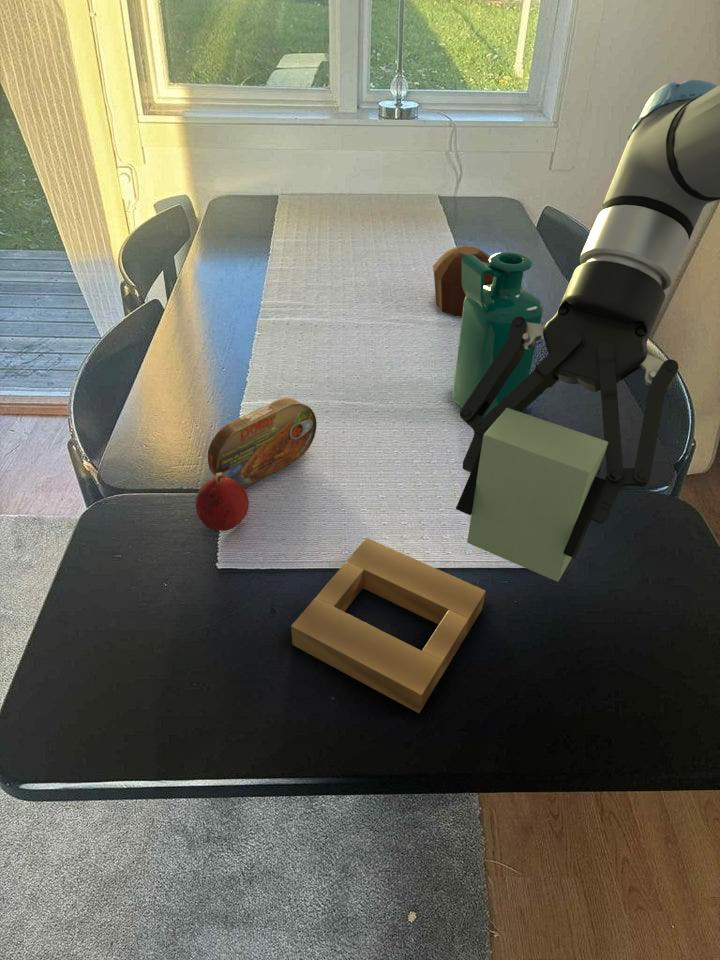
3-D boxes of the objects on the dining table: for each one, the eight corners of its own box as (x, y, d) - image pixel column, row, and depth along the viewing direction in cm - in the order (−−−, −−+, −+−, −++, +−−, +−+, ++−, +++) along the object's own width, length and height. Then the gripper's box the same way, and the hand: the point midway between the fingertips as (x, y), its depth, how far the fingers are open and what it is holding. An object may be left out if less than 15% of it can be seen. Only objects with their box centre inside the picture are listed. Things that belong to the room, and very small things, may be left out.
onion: (233, 552, 78) (225, 499, 72) (190, 536, 79) (179, 483, 74) (260, 519, 82) (255, 466, 76) (218, 504, 83) (210, 452, 78)
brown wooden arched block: (496, 322, 119) (505, 266, 113) (431, 320, 119) (437, 264, 113) (488, 291, 128) (496, 237, 122) (428, 289, 128) (433, 235, 122)
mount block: (365, 556, 78) (366, 537, 76) (482, 609, 72) (486, 590, 70) (292, 645, 68) (290, 625, 66) (419, 713, 63) (421, 695, 61)
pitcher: (497, 383, 105) (521, 239, 90) (528, 414, 99) (560, 265, 85) (439, 396, 102) (455, 249, 87) (467, 428, 96) (489, 277, 82)
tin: (222, 500, 84) (214, 445, 78) (208, 487, 86) (199, 432, 80) (319, 449, 92) (317, 395, 86) (303, 438, 94) (301, 385, 88)
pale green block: (488, 513, 65) (506, 407, 57) (576, 550, 62) (608, 441, 54) (466, 542, 62) (483, 434, 55) (558, 582, 59) (589, 472, 51)
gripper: (753, 330, 57) (644, 588, 57) (507, 267, 65) (413, 492, 65) (770, 293, 50) (646, 587, 50) (492, 228, 58) (387, 480, 58)
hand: (514, 533), depth 57 cm, fingers closed on pale green block, 8 cm apart
